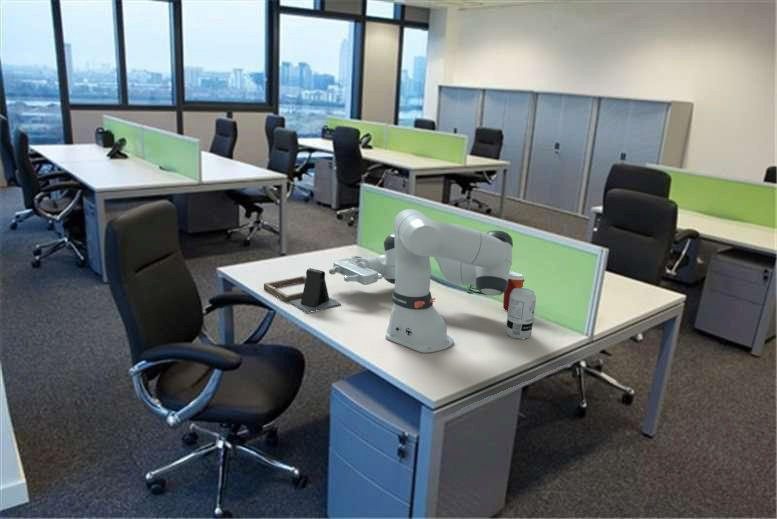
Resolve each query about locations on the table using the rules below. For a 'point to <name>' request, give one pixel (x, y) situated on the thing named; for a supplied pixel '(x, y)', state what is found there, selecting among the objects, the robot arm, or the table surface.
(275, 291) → the walnut frame
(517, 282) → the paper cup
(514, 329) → the supplement can
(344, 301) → the table surface
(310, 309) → the charcoal mat
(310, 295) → the phone stand
